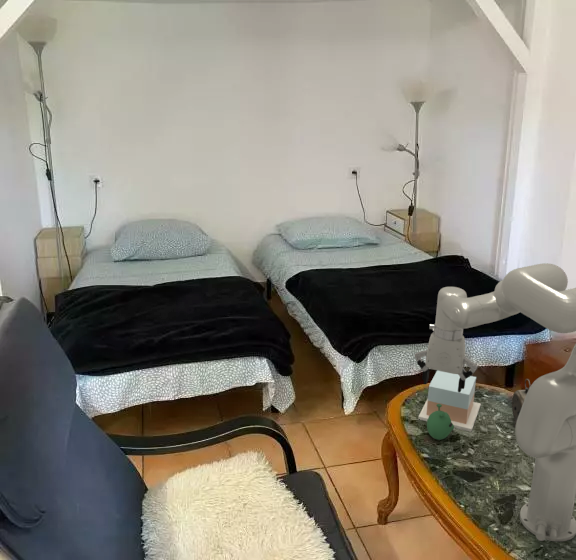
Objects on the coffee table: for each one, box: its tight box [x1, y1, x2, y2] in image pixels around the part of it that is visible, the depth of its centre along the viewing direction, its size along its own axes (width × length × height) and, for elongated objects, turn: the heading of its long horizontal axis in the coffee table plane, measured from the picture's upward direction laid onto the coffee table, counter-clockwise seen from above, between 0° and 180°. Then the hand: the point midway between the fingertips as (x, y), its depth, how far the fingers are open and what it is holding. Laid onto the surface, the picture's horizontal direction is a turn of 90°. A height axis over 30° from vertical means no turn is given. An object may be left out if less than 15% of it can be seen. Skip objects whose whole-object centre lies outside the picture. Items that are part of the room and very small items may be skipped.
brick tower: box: [418, 370, 482, 433], centre depth 187 cm, size 16×16×11 cm
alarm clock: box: [511, 378, 531, 427], centre depth 178 cm, size 11×5×16 cm, turn 178°
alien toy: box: [426, 404, 455, 441], centre depth 174 cm, size 7×8×10 cm
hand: (442, 386), depth 171 cm, fingers open, 9 cm apart
